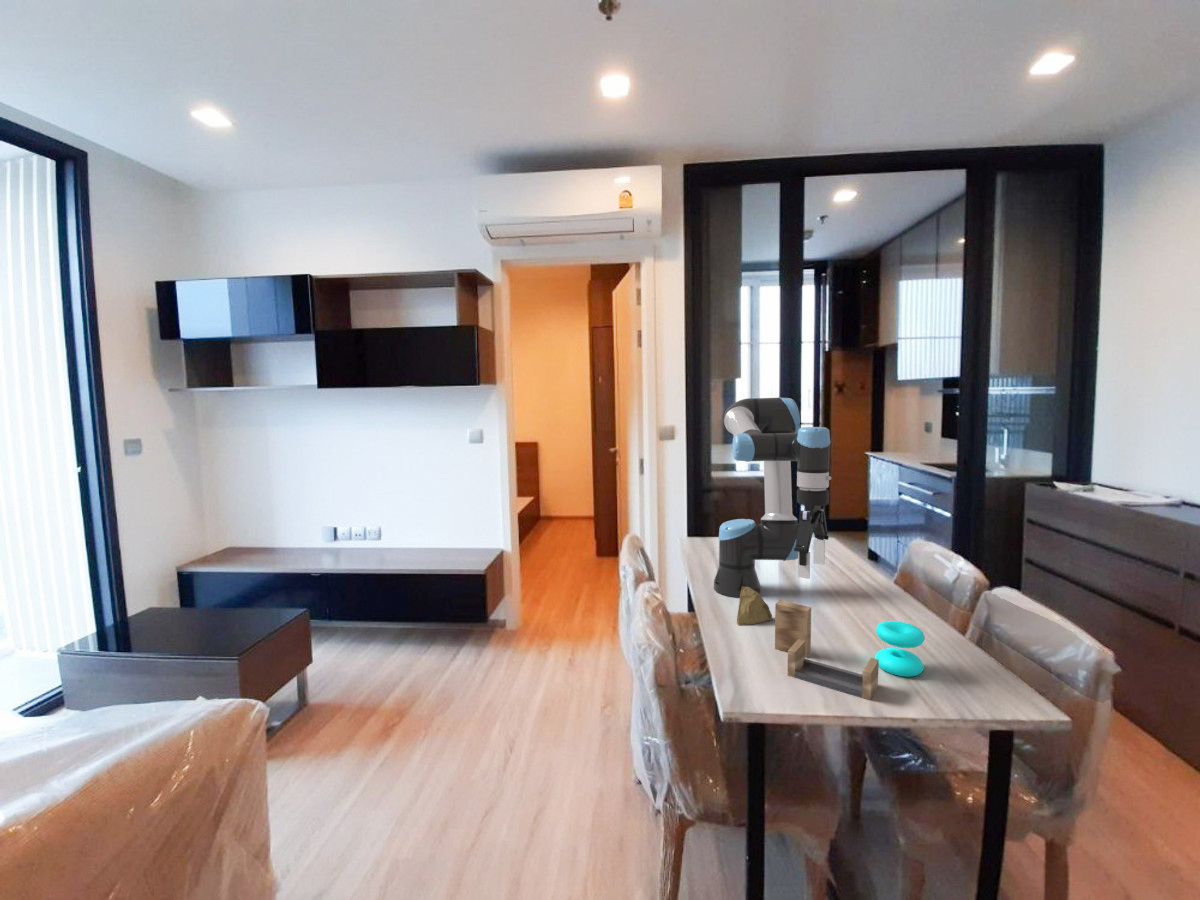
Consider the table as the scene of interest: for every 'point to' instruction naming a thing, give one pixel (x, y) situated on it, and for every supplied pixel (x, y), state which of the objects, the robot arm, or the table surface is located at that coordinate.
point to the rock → (752, 608)
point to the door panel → (792, 626)
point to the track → (831, 677)
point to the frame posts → (869, 673)
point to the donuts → (898, 658)
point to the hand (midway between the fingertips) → (811, 570)
